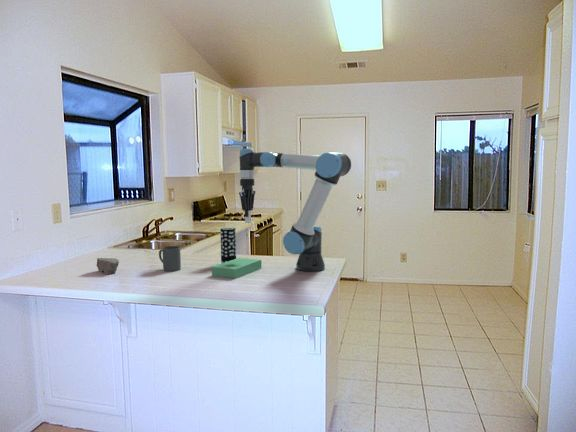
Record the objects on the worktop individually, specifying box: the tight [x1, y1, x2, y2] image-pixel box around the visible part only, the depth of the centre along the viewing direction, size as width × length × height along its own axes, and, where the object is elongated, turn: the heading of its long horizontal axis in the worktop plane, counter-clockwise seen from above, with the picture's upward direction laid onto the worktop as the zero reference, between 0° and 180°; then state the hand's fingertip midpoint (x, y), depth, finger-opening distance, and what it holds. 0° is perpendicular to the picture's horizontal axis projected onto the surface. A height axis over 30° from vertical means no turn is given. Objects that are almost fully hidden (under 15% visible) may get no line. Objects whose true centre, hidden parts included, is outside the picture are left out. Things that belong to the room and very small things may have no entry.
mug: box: [158, 245, 182, 272], centre depth 244 cm, size 14×9×12 cm
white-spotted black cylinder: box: [219, 227, 237, 264], centre depth 255 cm, size 8×8×20 cm
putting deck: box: [211, 257, 262, 279], centre depth 237 cm, size 14×25×5 cm, turn 153°
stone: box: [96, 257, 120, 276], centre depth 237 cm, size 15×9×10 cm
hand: (247, 222), depth 244 cm, fingers closed
